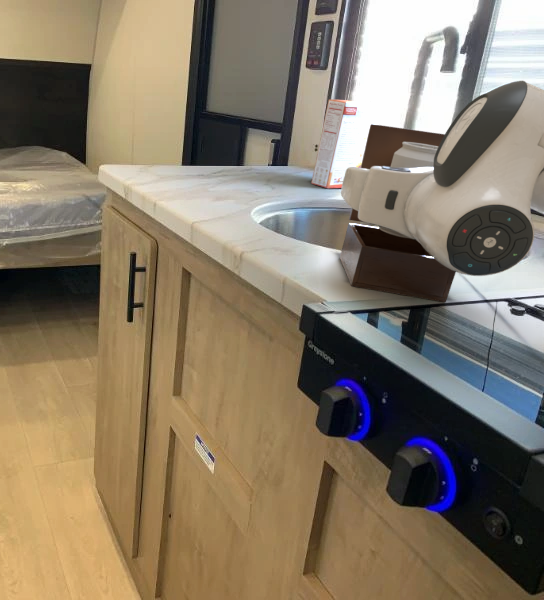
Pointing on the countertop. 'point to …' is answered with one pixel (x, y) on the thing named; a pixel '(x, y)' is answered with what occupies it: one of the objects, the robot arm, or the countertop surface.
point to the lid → (390, 147)
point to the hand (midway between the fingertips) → (413, 185)
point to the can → (412, 163)
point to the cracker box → (343, 140)
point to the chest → (393, 264)
